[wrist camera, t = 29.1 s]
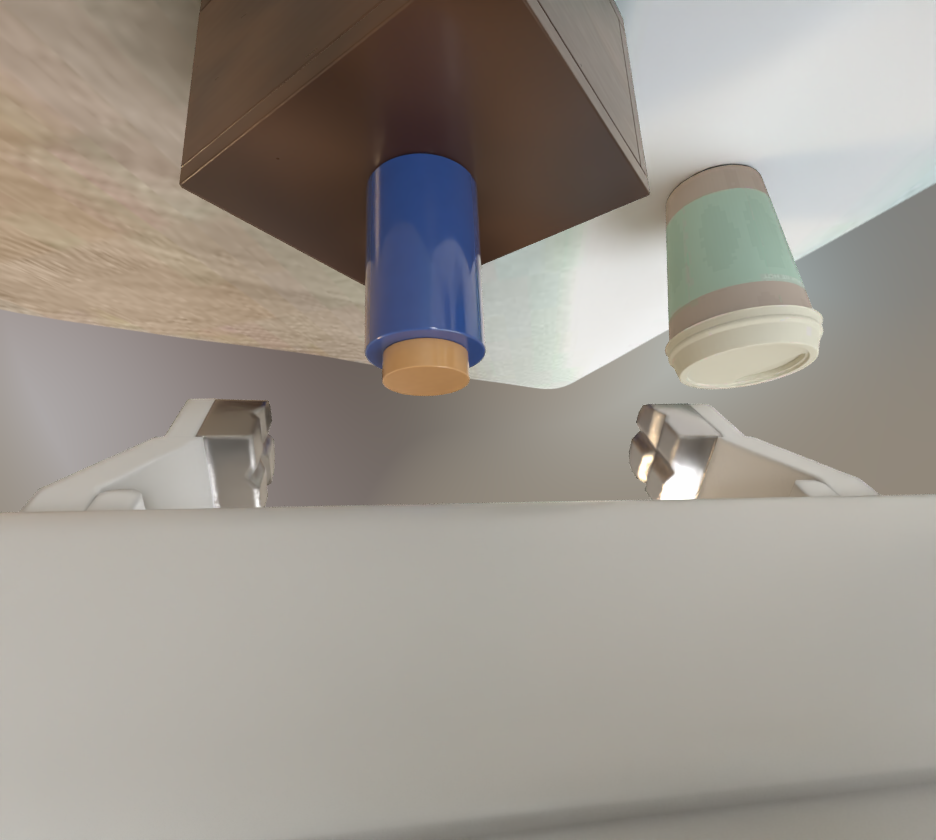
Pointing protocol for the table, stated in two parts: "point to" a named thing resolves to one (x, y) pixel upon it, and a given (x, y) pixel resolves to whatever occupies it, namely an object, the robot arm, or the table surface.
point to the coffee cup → (733, 285)
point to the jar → (423, 275)
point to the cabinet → (411, 113)
